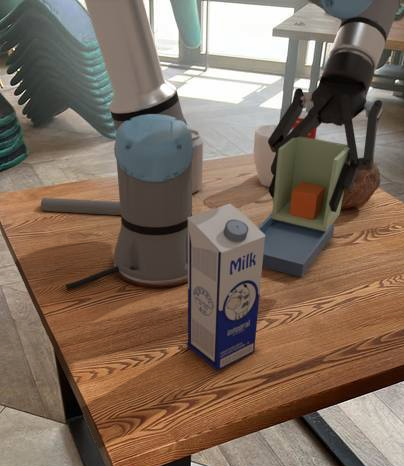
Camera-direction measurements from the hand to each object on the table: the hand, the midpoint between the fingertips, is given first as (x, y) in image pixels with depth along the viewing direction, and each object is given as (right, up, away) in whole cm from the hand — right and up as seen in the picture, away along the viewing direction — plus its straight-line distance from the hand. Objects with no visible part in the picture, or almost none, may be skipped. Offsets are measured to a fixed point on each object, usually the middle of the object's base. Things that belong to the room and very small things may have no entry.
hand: (301, 201), depth 87 cm
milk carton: (-13, -23, -6) cm, 27 cm away
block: (+1, -1, +4) cm, 4 cm away
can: (-19, +13, +38) cm, 45 cm away
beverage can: (+8, +22, +50) cm, 55 cm away
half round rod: (-38, +6, +29) cm, 48 cm away
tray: (0, -4, +18) cm, 18 cm away
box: (+1, -1, +5) cm, 5 cm away
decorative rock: (+14, +8, +33) cm, 37 cm away
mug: (+2, +15, +41) cm, 44 cm away
